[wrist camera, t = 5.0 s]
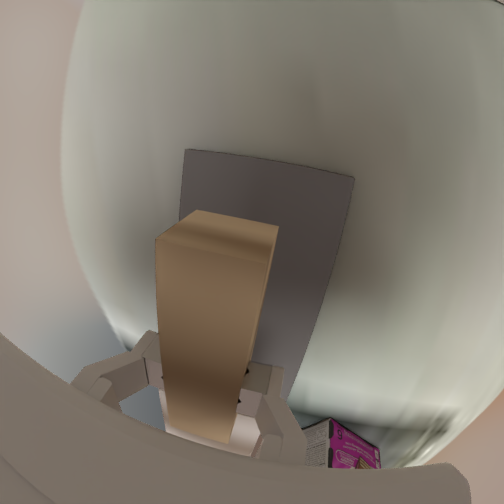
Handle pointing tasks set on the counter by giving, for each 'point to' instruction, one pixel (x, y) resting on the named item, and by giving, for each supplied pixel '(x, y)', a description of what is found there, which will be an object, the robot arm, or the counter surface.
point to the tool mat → (288, 238)
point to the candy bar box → (338, 448)
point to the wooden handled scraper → (210, 323)
